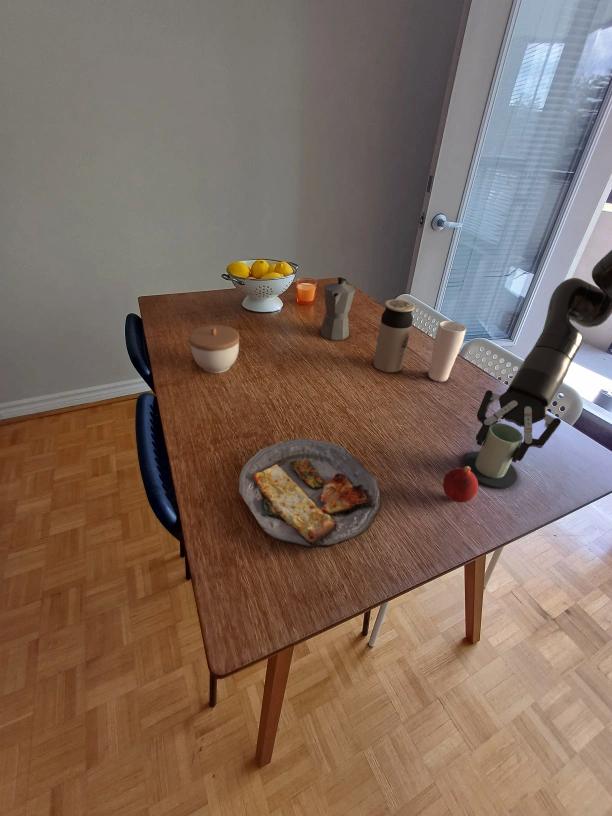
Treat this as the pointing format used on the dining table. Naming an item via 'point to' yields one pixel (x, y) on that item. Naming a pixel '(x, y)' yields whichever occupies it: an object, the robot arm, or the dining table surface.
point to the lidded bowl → (214, 347)
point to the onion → (460, 484)
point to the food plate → (309, 493)
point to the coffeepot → (337, 309)
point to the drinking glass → (446, 349)
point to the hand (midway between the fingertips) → (496, 452)
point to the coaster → (488, 481)
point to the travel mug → (393, 335)
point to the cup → (498, 450)
